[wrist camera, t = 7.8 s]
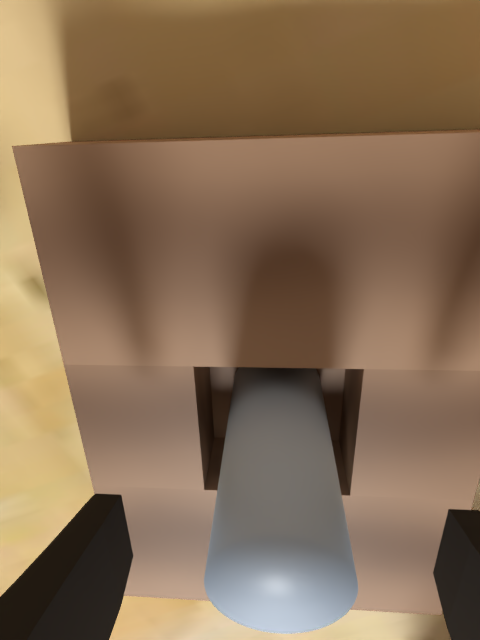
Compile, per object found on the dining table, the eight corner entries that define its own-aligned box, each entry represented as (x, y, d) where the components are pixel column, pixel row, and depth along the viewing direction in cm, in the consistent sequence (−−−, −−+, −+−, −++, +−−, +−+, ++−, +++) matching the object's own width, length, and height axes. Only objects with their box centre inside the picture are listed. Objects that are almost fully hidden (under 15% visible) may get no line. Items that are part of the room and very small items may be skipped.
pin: (320, 420, 15) (355, 636, 9) (237, 421, 15) (211, 631, 9) (320, 346, 14) (361, 535, 7) (230, 350, 14) (194, 534, 8)
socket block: (416, 540, 18) (441, 615, 15) (141, 527, 19) (118, 595, 16) (504, 128, 11) (577, 129, 8) (70, 141, 12) (12, 146, 9)
